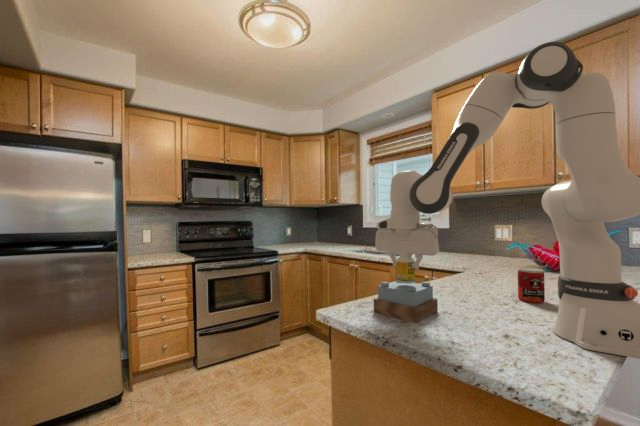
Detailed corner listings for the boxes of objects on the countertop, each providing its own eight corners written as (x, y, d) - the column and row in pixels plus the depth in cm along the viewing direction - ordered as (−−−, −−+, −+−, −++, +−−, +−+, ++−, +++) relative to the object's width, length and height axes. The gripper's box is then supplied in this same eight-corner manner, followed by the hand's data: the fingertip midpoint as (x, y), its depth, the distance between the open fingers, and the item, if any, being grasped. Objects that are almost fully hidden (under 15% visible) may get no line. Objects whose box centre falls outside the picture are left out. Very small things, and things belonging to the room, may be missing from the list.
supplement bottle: (402, 279, 97) (402, 249, 97) (418, 282, 93) (417, 251, 93) (393, 282, 93) (393, 251, 93) (409, 284, 89) (408, 252, 89)
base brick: (437, 311, 93) (437, 298, 93) (415, 322, 83) (415, 308, 83) (397, 302, 103) (397, 291, 103) (373, 311, 93) (373, 298, 93)
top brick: (432, 298, 93) (432, 282, 93) (413, 306, 85) (413, 289, 85) (398, 292, 102) (398, 277, 102) (378, 298, 93) (378, 282, 93)
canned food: (522, 302, 102) (522, 270, 102) (514, 296, 110) (514, 266, 110) (549, 304, 100) (548, 271, 100) (539, 298, 108) (538, 267, 108)
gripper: (442, 223, 88) (443, 270, 88) (383, 223, 103) (383, 263, 103) (432, 223, 84) (433, 273, 84) (372, 223, 98) (372, 265, 98)
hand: (405, 267), depth 93 cm, fingers closed on supplement bottle, 5 cm apart
